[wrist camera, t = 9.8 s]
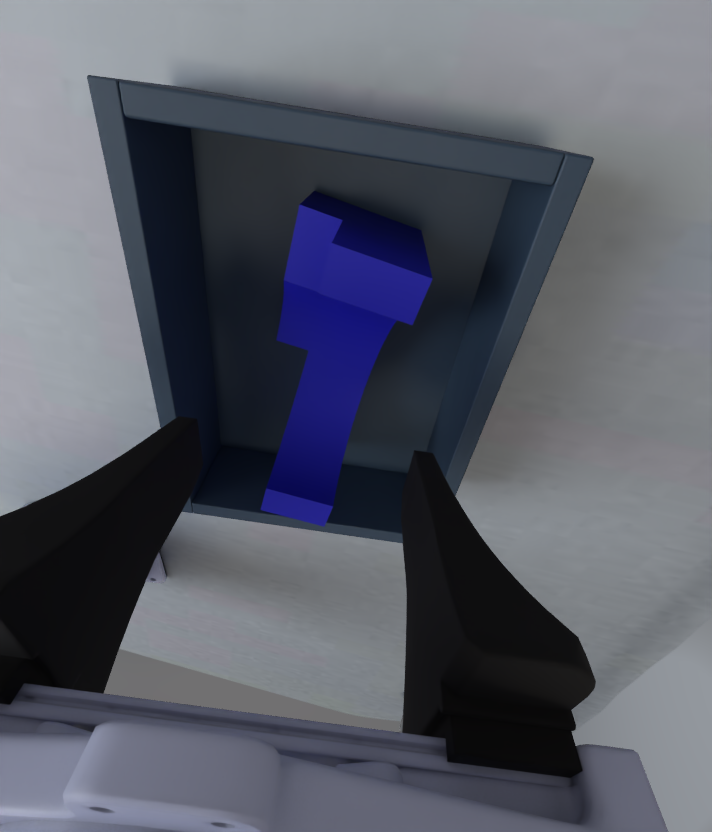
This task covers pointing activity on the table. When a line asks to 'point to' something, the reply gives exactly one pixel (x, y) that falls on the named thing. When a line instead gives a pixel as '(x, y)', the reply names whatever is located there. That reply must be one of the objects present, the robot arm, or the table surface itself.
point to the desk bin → (266, 265)
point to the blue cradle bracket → (337, 337)
